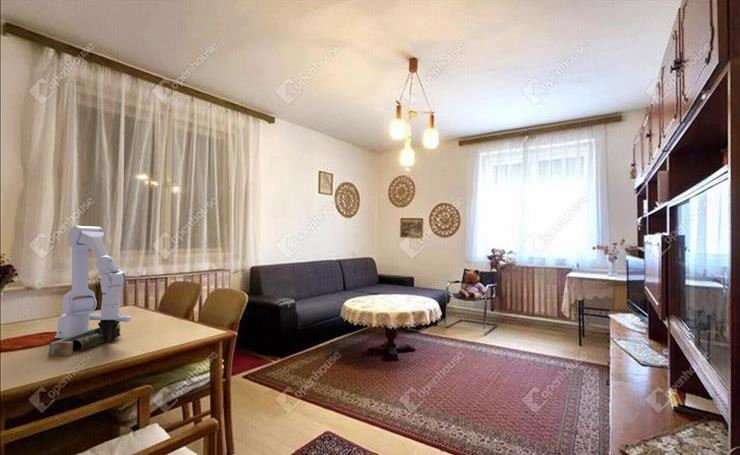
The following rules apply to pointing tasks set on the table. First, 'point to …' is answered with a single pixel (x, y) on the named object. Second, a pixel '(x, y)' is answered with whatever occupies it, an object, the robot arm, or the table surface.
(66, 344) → the dock
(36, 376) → the table surface
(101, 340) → the metal pipe
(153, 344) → the table surface
